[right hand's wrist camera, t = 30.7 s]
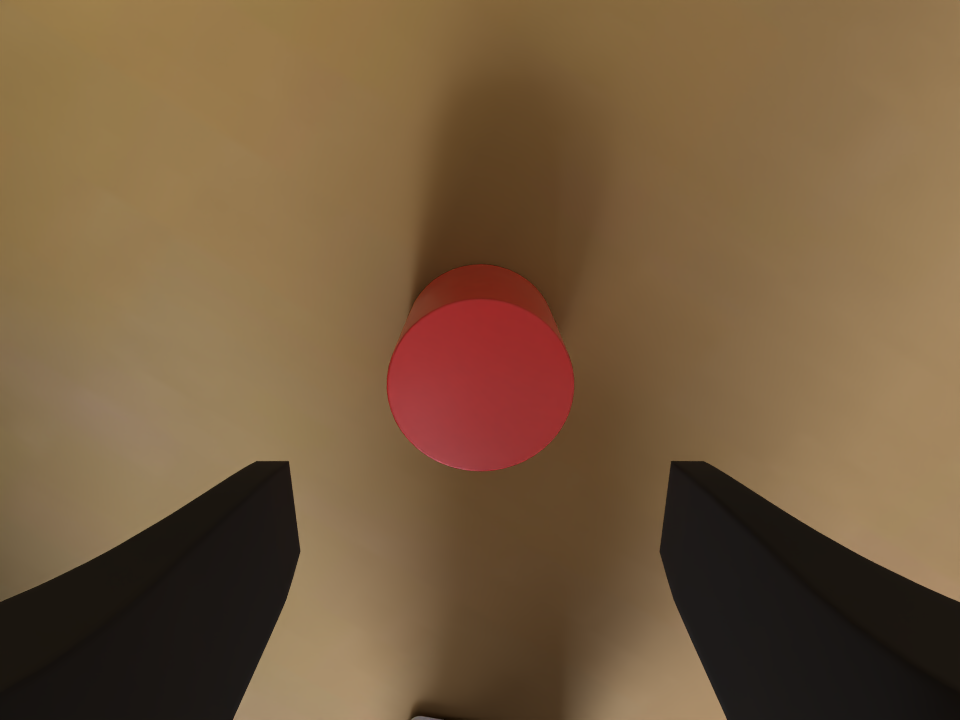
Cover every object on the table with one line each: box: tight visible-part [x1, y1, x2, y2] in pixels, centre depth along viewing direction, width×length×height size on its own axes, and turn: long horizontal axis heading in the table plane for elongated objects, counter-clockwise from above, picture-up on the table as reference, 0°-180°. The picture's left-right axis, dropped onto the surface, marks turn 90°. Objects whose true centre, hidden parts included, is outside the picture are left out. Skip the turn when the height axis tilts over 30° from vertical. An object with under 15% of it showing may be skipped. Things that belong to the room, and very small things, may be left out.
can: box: [387, 264, 574, 471], centre depth 18 cm, size 5×5×4 cm
